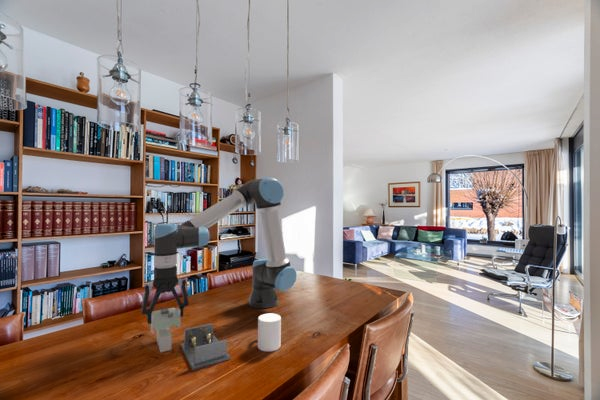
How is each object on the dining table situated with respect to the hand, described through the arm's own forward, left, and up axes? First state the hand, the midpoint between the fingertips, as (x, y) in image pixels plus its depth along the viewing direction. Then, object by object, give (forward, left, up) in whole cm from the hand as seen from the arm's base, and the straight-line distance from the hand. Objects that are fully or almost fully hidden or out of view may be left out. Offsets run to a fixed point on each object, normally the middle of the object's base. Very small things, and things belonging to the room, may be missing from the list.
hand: (165, 328), depth 103 cm
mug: (+19, +31, -6) cm, 37 cm away
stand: (0, -1, -6) cm, 6 cm away
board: (0, 0, +3) cm, 3 cm away
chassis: (+13, +10, -6) cm, 18 cm away
